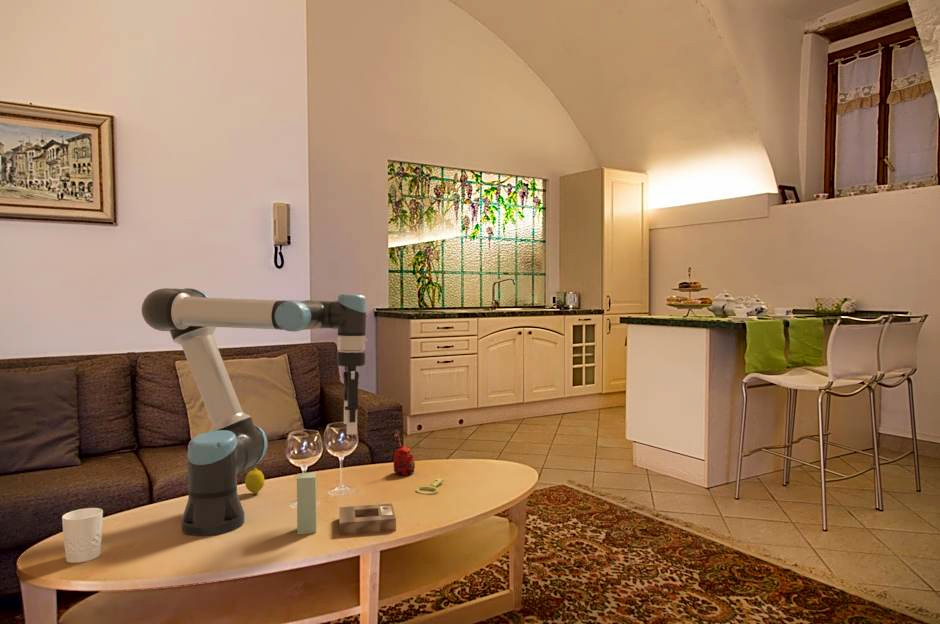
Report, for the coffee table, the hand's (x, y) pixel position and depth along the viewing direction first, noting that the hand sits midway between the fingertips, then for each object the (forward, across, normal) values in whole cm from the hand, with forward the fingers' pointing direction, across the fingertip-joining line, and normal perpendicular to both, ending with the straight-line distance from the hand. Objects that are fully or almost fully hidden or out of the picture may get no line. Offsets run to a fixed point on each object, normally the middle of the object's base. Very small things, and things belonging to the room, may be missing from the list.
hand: (350, 428), depth 169 cm
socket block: (+23, -10, -4) cm, 25 cm away
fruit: (+24, +24, +26) cm, 43 cm away
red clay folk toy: (+23, +34, -20) cm, 46 cm away
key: (+23, +15, -26) cm, 38 cm away
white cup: (+25, -14, +60) cm, 67 cm away
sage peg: (+23, -10, +11) cm, 28 cm away
